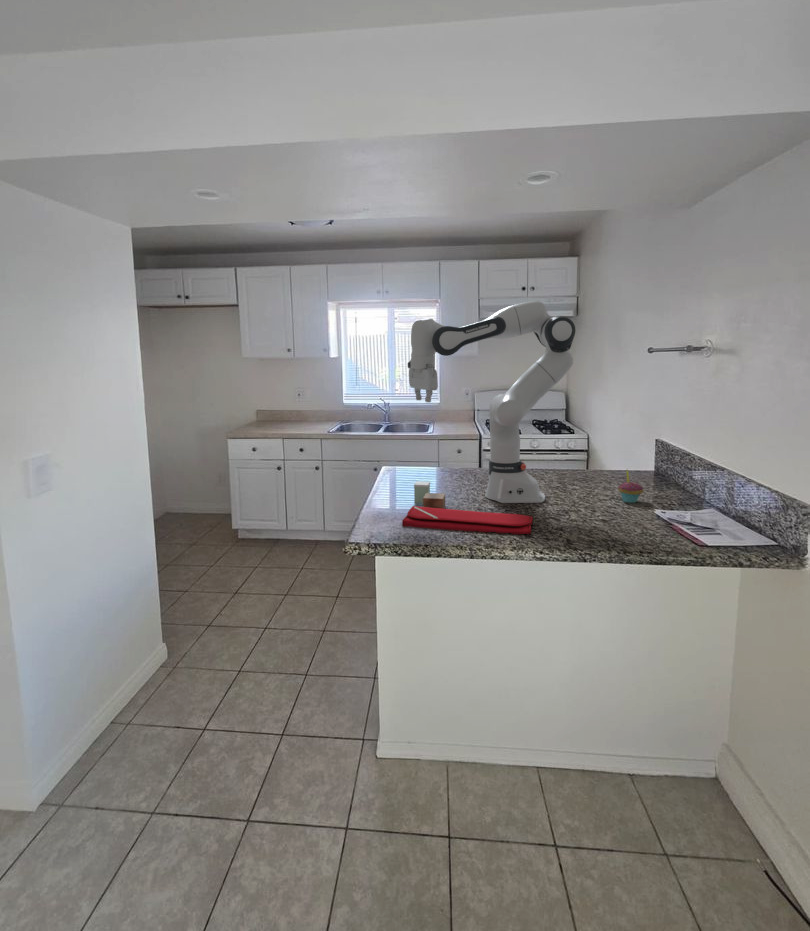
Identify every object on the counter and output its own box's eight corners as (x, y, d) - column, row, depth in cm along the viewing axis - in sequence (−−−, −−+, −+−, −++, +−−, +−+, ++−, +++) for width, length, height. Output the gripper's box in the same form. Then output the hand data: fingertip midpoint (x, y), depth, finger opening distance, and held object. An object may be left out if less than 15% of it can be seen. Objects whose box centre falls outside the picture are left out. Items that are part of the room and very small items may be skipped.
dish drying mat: (530, 537, 169) (531, 525, 169) (401, 528, 180) (401, 517, 179) (533, 521, 184) (533, 510, 184) (413, 514, 195) (413, 503, 194)
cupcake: (614, 501, 205) (616, 469, 202) (623, 496, 211) (625, 465, 209) (637, 505, 199) (639, 473, 197) (646, 500, 205) (648, 469, 203)
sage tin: (430, 500, 211) (430, 481, 209) (427, 503, 206) (427, 485, 204) (416, 499, 212) (416, 481, 210) (414, 503, 207) (414, 484, 205)
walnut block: (445, 506, 202) (445, 493, 201) (442, 512, 195) (442, 498, 194) (426, 506, 203) (426, 493, 202) (423, 511, 196) (423, 498, 195)
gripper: (442, 364, 197) (442, 403, 200) (421, 363, 216) (421, 398, 219) (425, 364, 195) (425, 404, 198) (405, 363, 214) (406, 399, 217)
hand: (423, 401), depth 208 cm, fingers open, 8 cm apart
